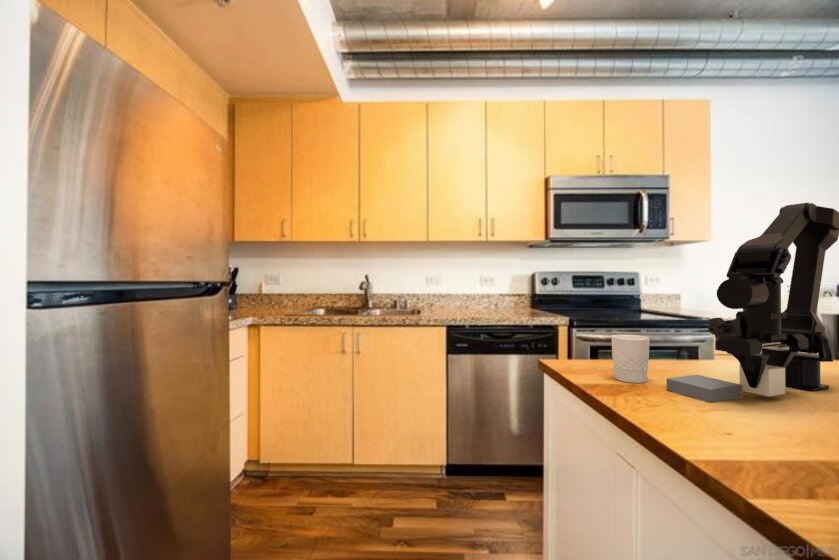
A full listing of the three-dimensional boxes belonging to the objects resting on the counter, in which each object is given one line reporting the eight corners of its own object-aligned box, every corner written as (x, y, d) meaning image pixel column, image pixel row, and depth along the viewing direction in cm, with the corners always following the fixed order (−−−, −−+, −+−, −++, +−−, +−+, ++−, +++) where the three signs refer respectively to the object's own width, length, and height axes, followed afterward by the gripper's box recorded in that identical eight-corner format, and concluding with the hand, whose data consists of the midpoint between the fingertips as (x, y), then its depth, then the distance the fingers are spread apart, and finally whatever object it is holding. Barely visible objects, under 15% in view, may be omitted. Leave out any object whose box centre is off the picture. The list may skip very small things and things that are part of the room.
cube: (755, 387, 81) (755, 362, 81) (785, 393, 76) (785, 367, 76) (739, 389, 79) (739, 364, 79) (768, 396, 74) (768, 370, 74)
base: (696, 385, 86) (696, 374, 86) (742, 397, 78) (742, 384, 78) (666, 390, 83) (666, 378, 83) (710, 402, 75) (710, 389, 75)
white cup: (655, 384, 88) (655, 339, 88) (617, 383, 89) (616, 339, 89) (642, 376, 95) (642, 334, 95) (607, 374, 97) (607, 334, 97)
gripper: (746, 303, 88) (746, 372, 88) (687, 306, 82) (688, 381, 82) (809, 306, 78) (810, 385, 78) (748, 309, 71) (748, 395, 72)
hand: (761, 386), depth 78 cm, fingers closed on cube, 5 cm apart
